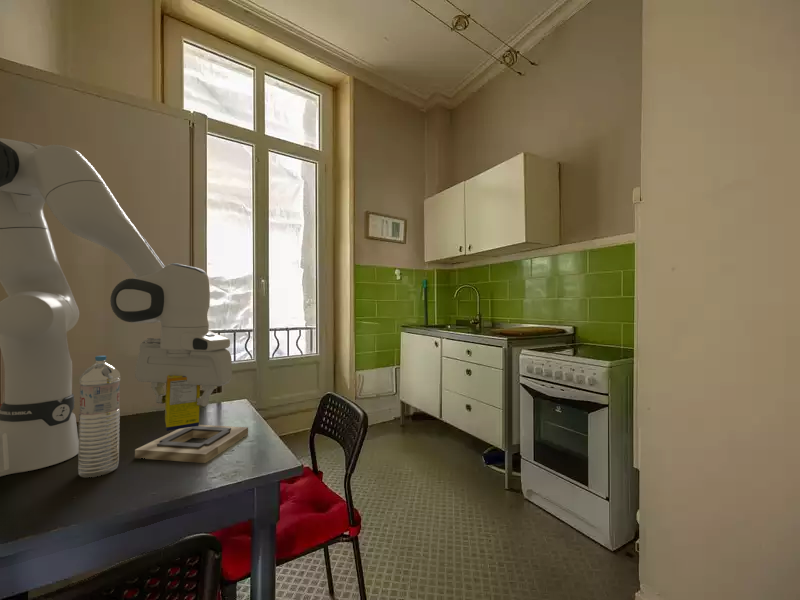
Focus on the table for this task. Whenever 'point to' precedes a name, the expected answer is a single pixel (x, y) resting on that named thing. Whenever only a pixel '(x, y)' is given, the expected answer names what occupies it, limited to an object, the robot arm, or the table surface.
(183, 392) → the supplement box
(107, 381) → the water bottle
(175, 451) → the socket block
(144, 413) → the table surface
